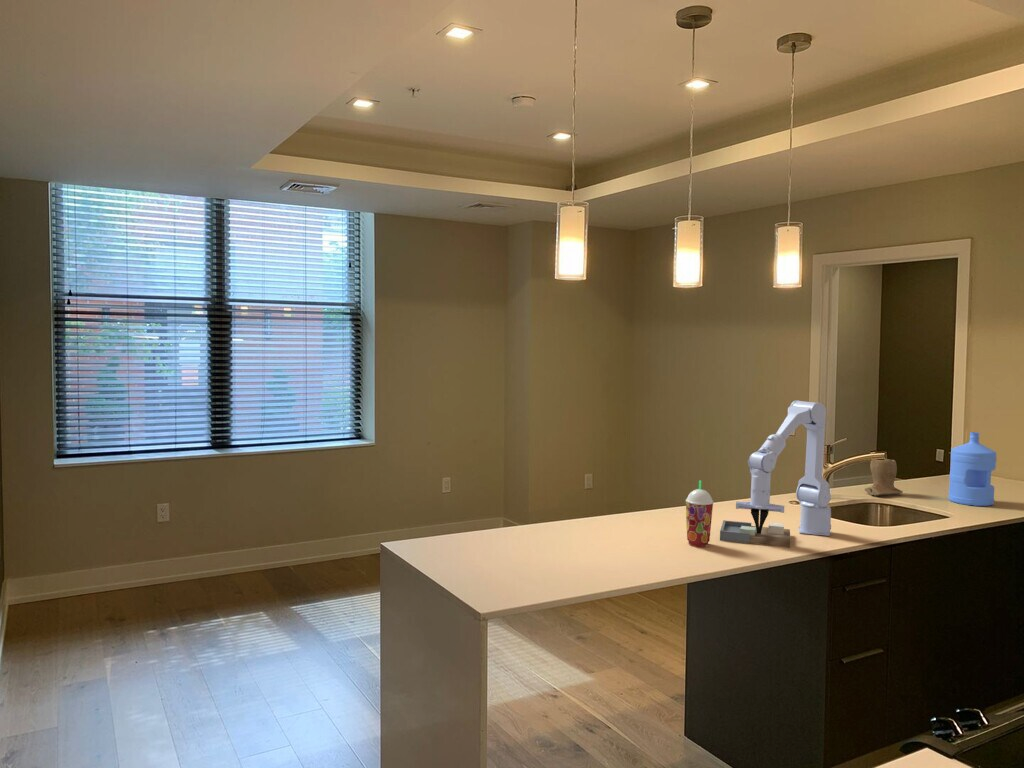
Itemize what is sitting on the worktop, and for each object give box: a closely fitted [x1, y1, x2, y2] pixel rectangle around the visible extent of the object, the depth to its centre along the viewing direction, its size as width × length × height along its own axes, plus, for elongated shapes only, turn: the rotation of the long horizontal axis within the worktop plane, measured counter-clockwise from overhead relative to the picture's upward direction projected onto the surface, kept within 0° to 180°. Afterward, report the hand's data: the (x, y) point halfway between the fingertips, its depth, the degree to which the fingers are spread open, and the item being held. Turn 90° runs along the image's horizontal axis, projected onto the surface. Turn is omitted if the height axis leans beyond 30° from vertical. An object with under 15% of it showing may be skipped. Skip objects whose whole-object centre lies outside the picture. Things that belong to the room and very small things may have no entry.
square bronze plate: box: [749, 525, 792, 548], centre depth 247 cm, size 12×15×2 cm
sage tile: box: [740, 526, 756, 536], centre depth 246 cm, size 4×4×2 cm
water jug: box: [948, 431, 997, 507], centre depth 307 cm, size 16×16×28 cm
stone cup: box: [864, 458, 903, 497], centre depth 320 cm, size 15×12×15 cm
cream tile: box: [768, 522, 785, 535], centre depth 248 cm, size 4×4×2 cm
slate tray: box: [719, 520, 752, 544], centre depth 250 cm, size 9×15×3 cm, turn 161°
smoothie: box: [685, 479, 714, 548], centre depth 239 cm, size 8×8×20 cm
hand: (758, 532), depth 244 cm, fingers closed
